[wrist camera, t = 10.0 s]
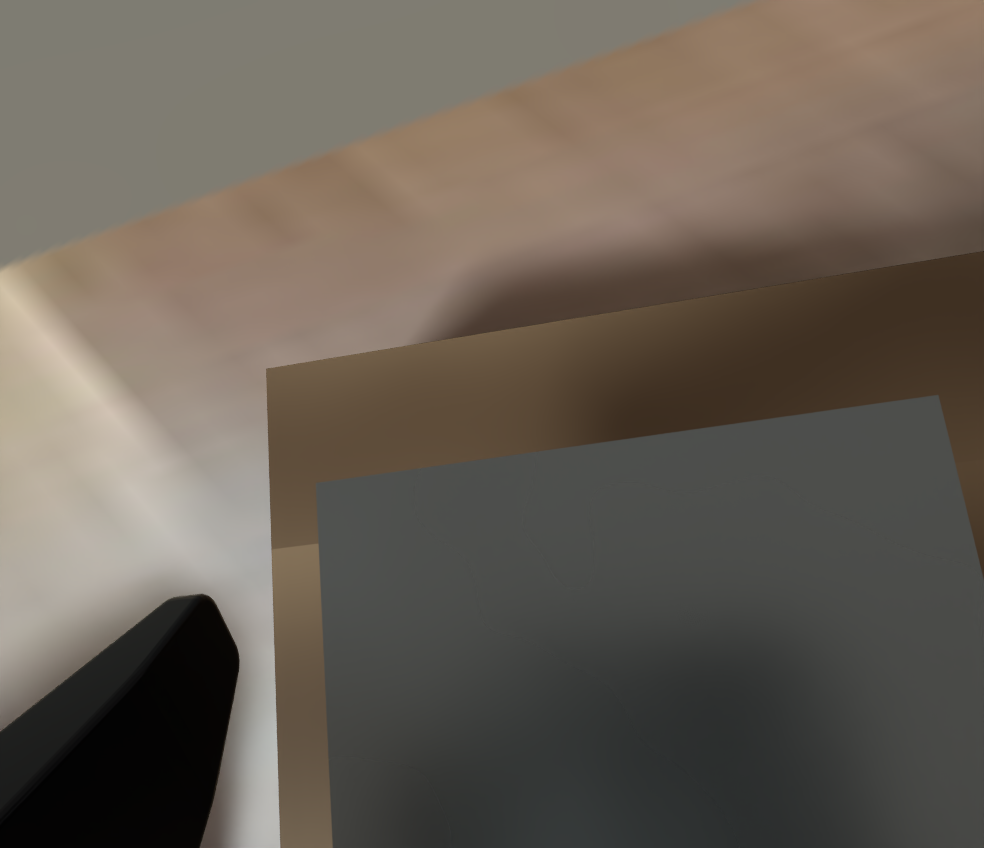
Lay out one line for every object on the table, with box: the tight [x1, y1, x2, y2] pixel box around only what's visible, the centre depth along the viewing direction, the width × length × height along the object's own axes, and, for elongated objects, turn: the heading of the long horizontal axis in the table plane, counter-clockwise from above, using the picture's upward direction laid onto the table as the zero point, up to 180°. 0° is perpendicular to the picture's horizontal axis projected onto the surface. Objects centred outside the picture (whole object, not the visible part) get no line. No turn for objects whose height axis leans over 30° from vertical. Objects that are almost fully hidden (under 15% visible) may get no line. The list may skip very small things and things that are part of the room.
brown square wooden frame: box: [266, 251, 984, 848], centre depth 14 cm, size 12×12×4 cm
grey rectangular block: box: [316, 395, 984, 848], centre depth 11 cm, size 4×4×12 cm
